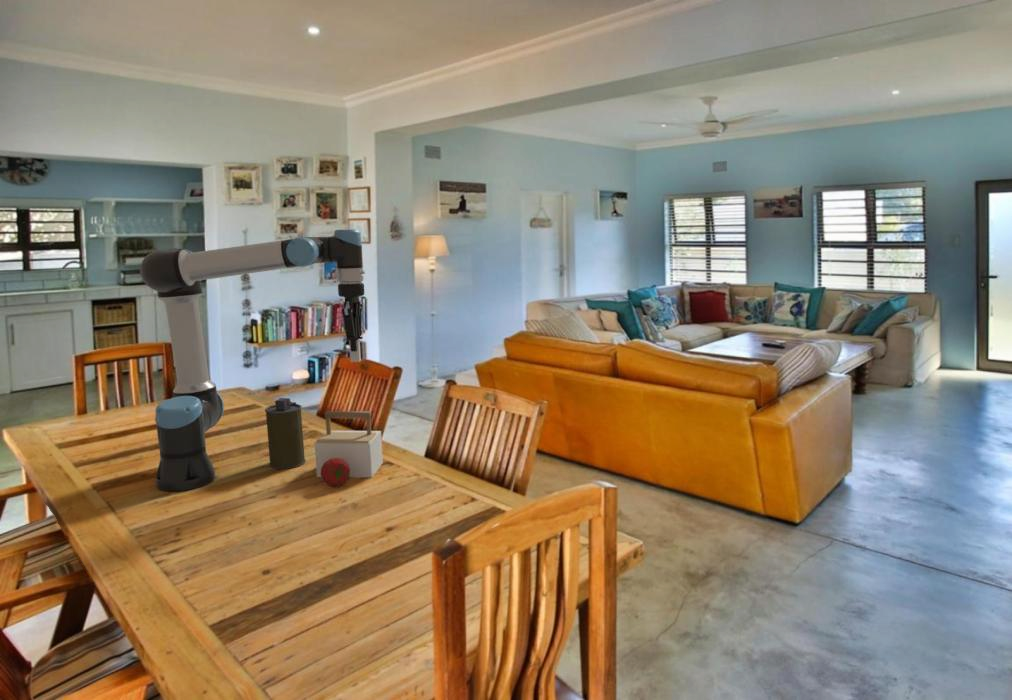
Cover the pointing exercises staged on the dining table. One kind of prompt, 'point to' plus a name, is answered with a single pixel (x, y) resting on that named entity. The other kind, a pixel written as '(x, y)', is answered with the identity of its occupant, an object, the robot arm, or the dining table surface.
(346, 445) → the carton
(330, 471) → the tomato
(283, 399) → the canister
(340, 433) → the flap
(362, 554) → the dining table surface
